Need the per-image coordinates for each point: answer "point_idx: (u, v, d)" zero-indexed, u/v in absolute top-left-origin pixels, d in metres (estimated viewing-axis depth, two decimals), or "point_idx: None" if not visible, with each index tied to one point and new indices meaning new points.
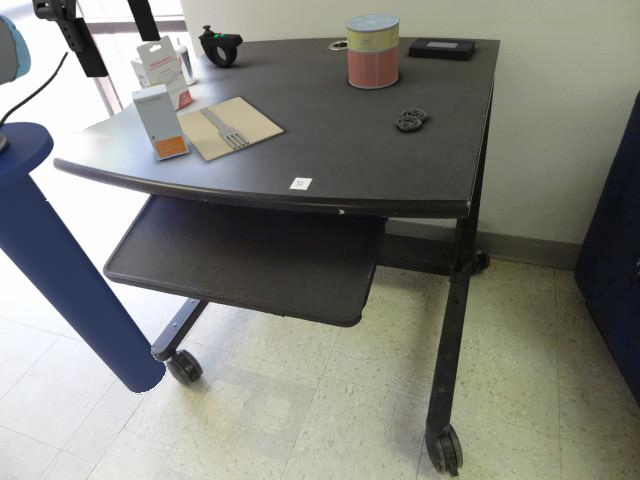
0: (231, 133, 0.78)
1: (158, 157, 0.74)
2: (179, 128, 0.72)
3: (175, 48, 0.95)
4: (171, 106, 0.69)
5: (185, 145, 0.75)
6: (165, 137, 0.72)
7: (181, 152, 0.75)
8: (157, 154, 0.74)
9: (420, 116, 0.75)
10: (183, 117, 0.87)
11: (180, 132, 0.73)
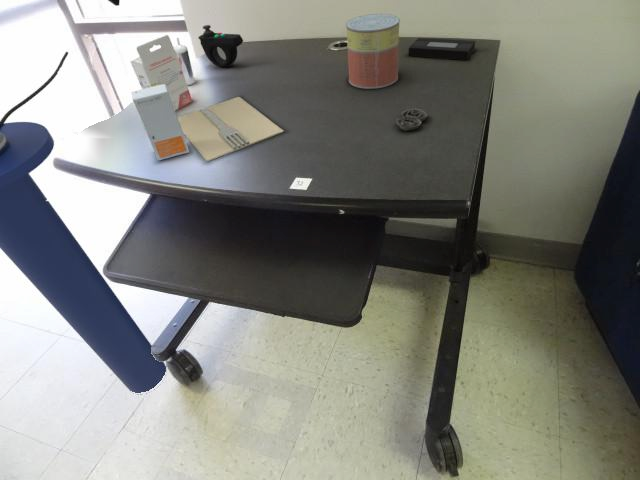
0: (231, 133, 0.78)
1: (158, 157, 0.74)
2: (179, 128, 0.72)
3: (175, 48, 0.95)
4: (171, 106, 0.69)
5: (185, 145, 0.75)
6: (165, 137, 0.72)
7: (180, 152, 0.75)
8: (157, 154, 0.74)
9: (420, 116, 0.75)
10: (183, 117, 0.87)
11: (180, 132, 0.73)
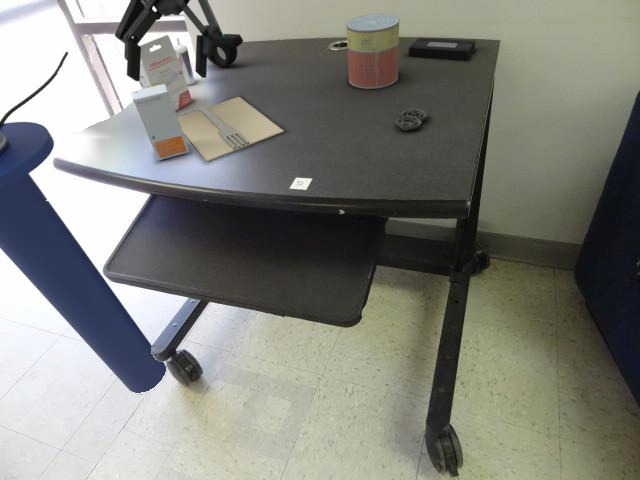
0: (231, 133, 0.78)
1: (158, 157, 0.74)
2: (179, 128, 0.72)
3: (175, 48, 0.95)
4: (171, 106, 0.69)
5: (185, 145, 0.75)
6: (165, 137, 0.72)
7: (181, 152, 0.75)
8: (157, 154, 0.74)
9: (420, 116, 0.75)
10: (183, 117, 0.87)
11: (180, 132, 0.73)
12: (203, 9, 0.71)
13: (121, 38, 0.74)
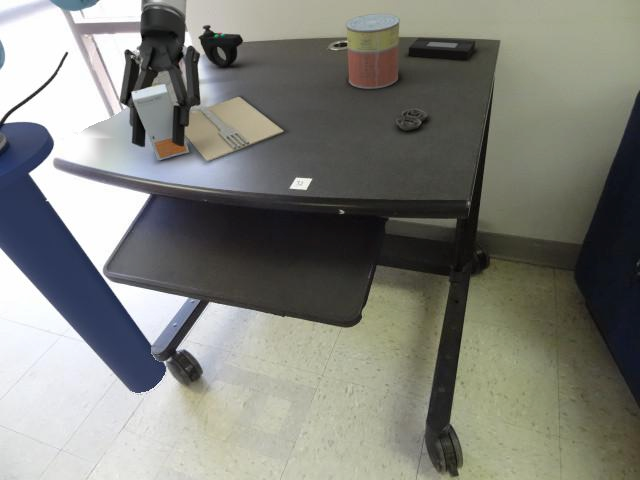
0: (231, 133, 0.78)
1: (158, 157, 0.74)
2: None
3: None
4: (171, 106, 0.69)
5: (185, 145, 0.75)
6: (165, 137, 0.72)
7: (180, 152, 0.75)
8: (157, 154, 0.74)
9: (420, 116, 0.75)
10: None
11: None
12: (187, 75, 0.70)
13: (127, 103, 0.72)
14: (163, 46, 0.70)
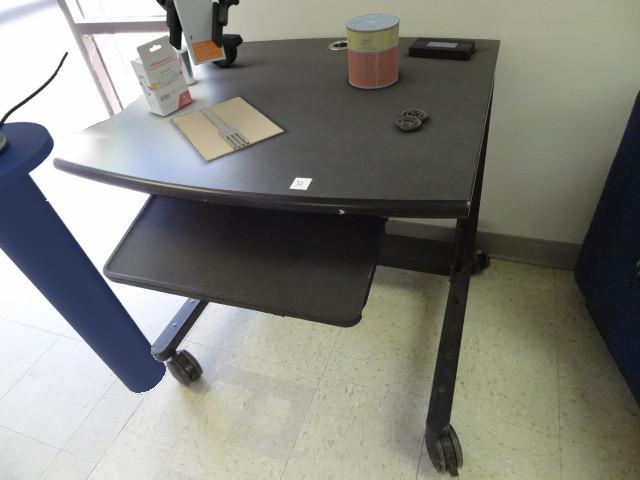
0: (231, 133, 0.78)
1: (194, 61, 0.72)
2: None
3: None
4: (210, 2, 0.67)
5: (222, 50, 0.72)
6: (202, 39, 0.70)
7: (217, 57, 0.73)
8: (194, 58, 0.71)
9: (420, 116, 0.75)
10: (183, 117, 0.87)
11: None
12: None
13: (164, 2, 0.70)
14: None
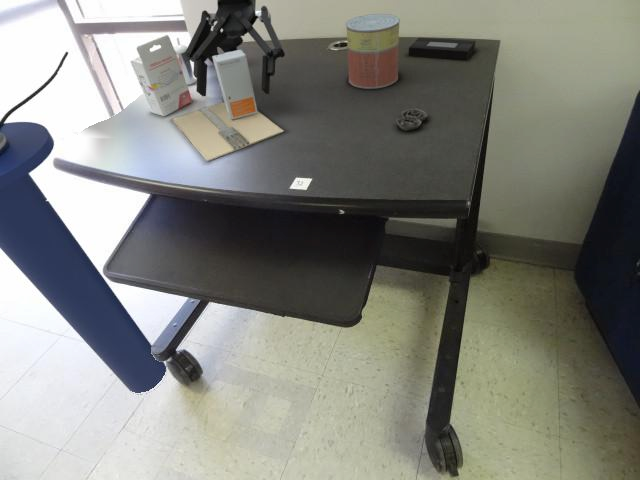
0: (231, 133, 0.78)
1: (231, 116, 0.83)
2: (252, 90, 0.81)
3: (175, 48, 0.95)
4: (247, 69, 0.78)
5: (255, 106, 0.83)
6: (239, 98, 0.81)
7: (250, 112, 0.84)
8: (231, 114, 0.82)
9: (420, 116, 0.75)
10: (183, 117, 0.87)
11: (252, 93, 0.81)
12: (269, 31, 0.78)
13: (190, 57, 0.81)
14: (239, 12, 0.78)
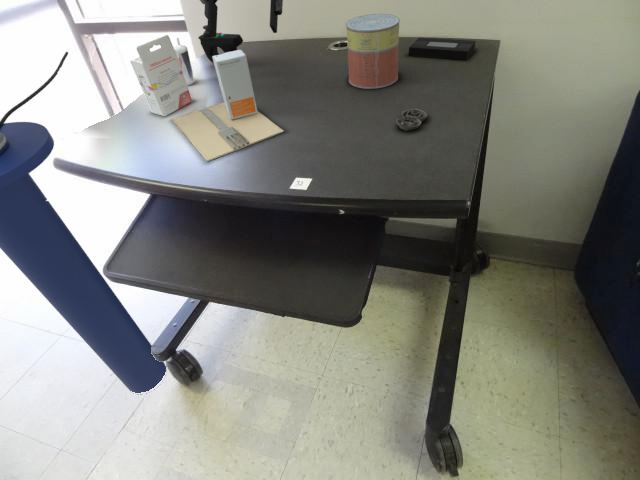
0: (231, 133, 0.78)
1: (231, 116, 0.83)
2: (252, 90, 0.81)
3: (175, 48, 0.95)
4: (247, 69, 0.78)
5: (255, 106, 0.83)
6: (239, 98, 0.81)
7: (250, 112, 0.84)
8: (231, 114, 0.82)
9: (420, 116, 0.75)
10: (183, 117, 0.87)
11: (252, 93, 0.81)
12: None
13: None
14: None
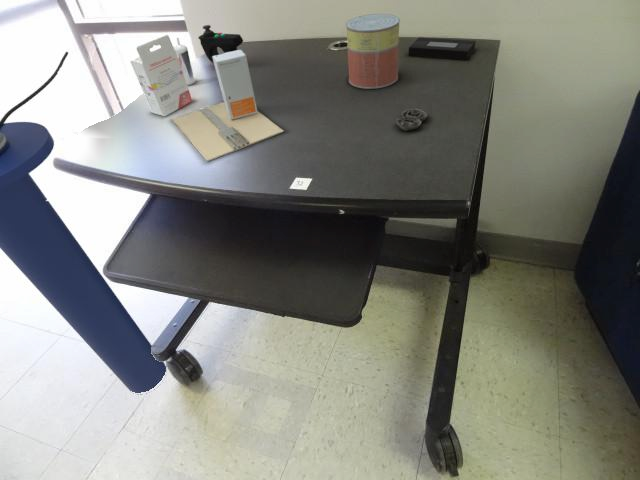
0: (231, 133, 0.78)
1: (231, 116, 0.83)
2: (252, 90, 0.81)
3: (175, 48, 0.95)
4: (247, 69, 0.78)
5: (255, 106, 0.83)
6: (239, 98, 0.81)
7: (250, 112, 0.84)
8: (231, 114, 0.82)
9: (420, 116, 0.75)
10: (183, 117, 0.87)
11: (252, 93, 0.81)
12: None
13: None
14: None
